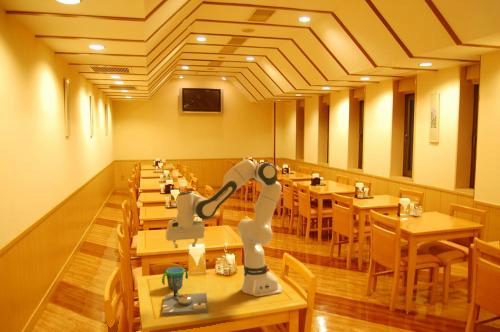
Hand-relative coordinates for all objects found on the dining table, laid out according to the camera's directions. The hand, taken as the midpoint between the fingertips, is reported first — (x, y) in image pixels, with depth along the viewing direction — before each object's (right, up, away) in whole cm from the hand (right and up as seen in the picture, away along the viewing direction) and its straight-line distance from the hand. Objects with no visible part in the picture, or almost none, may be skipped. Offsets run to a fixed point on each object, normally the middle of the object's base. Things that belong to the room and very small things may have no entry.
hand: (184, 247), depth 216 cm
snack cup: (-8, -26, +14) cm, 30 cm away
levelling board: (+2, -28, -9) cm, 29 cm away
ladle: (-1, -26, -7) cm, 27 cm away
